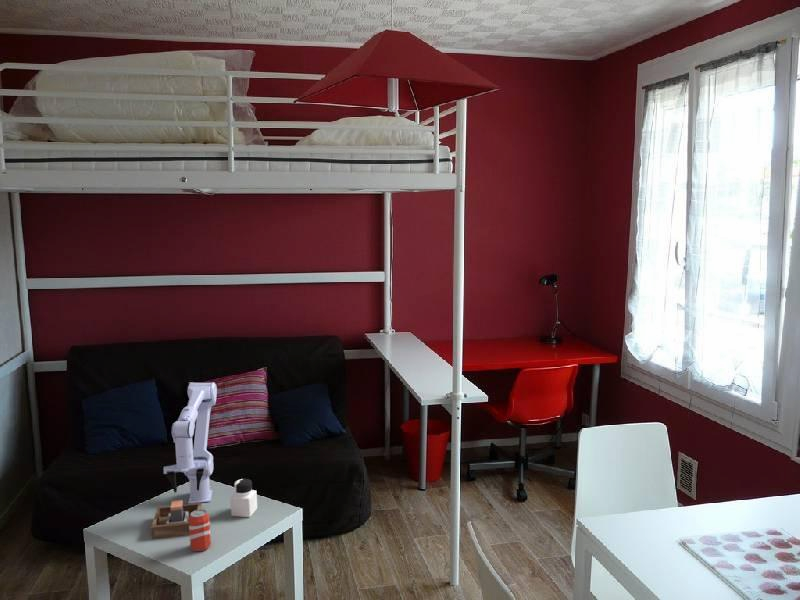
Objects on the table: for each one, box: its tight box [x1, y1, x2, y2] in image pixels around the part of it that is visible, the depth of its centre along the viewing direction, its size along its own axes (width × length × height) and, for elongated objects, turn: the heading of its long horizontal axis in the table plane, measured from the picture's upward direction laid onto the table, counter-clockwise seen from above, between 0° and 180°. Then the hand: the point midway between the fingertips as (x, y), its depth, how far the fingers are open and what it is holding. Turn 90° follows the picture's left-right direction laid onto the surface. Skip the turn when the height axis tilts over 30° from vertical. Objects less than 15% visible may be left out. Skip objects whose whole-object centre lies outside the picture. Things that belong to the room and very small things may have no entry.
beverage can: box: [189, 508, 212, 552], centre depth 215 cm, size 6×6×12 cm
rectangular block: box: [170, 499, 184, 522], centre depth 230 cm, size 5×4×7 cm
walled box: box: [150, 502, 203, 540], centre depth 231 cm, size 15×15×4 cm
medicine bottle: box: [230, 478, 258, 518], centre depth 239 cm, size 7×7×12 cm
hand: (186, 490), depth 236 cm, fingers open, 7 cm apart
